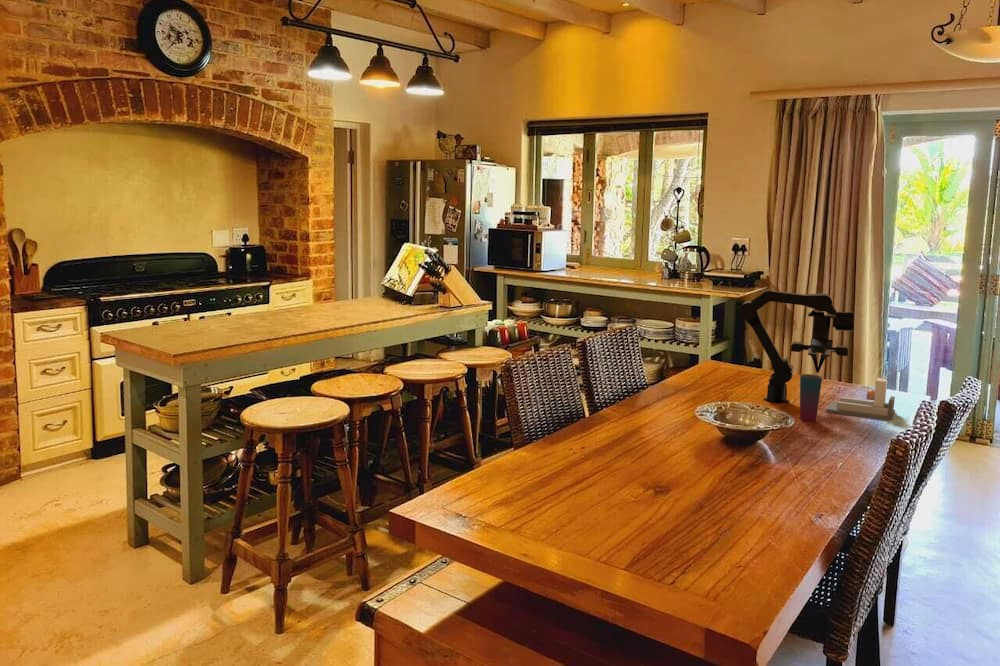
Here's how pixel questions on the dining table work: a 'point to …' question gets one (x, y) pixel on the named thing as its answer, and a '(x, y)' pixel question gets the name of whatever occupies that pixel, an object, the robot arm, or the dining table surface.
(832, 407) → the station
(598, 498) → the dining table surface
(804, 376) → the cup
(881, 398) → the plug
